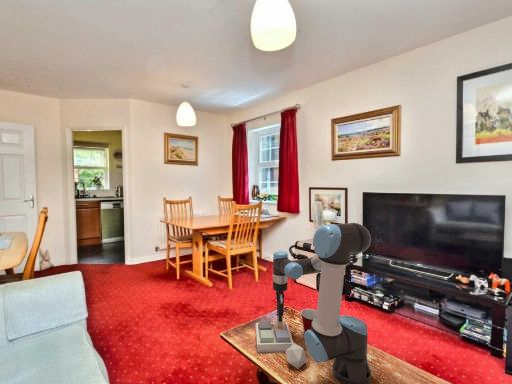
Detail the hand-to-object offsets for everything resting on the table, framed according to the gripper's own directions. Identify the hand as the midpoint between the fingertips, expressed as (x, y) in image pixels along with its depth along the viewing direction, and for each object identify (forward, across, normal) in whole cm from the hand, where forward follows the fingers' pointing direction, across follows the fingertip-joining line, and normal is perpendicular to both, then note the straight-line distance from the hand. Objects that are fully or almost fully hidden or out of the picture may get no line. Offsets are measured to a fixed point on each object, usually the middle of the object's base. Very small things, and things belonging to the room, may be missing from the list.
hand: (279, 326), depth 147 cm
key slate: (+1, +9, 0) cm, 9 cm away
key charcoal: (+1, 0, -8) cm, 8 cm away
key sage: (+1, +9, -8) cm, 12 cm away
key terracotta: (+3, 0, 0) cm, 3 cm away
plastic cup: (+5, +1, +16) cm, 17 cm away
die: (+5, +24, +4) cm, 24 cm away
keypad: (+5, +5, -4) cm, 8 cm away
